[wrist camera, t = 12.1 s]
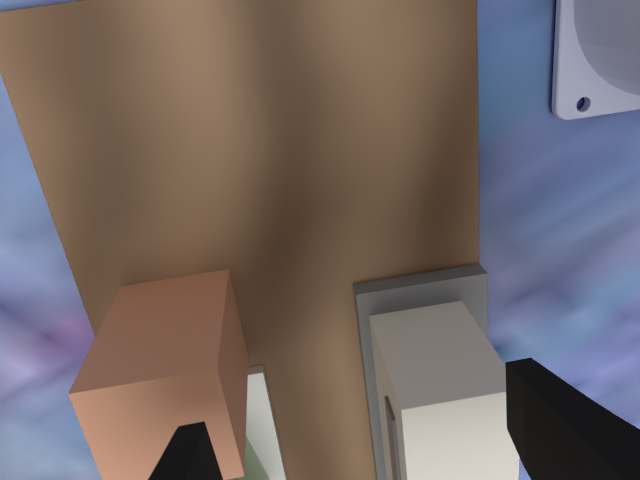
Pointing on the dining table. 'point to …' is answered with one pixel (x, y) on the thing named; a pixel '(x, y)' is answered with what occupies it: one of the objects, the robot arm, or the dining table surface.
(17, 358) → the dining table surface
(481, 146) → the dining table surface
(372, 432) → the mounted unit
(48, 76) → the service board
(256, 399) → the mat
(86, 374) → the terracotta block
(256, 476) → the sage block
